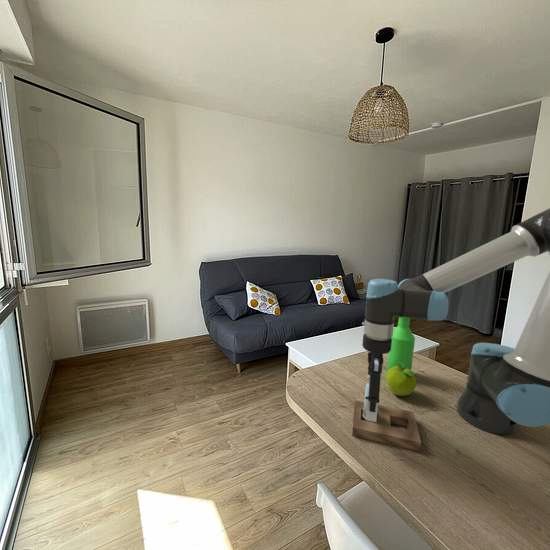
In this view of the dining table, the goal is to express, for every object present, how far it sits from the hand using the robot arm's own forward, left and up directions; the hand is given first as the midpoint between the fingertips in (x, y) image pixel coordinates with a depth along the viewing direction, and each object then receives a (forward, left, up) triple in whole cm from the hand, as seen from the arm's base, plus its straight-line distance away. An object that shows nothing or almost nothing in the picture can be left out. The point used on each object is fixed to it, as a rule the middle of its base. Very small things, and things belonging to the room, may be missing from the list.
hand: (370, 407), depth 84 cm
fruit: (-10, -20, -5) cm, 23 cm away
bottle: (-11, -34, -5) cm, 36 cm away
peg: (0, 0, -5) cm, 5 cm away
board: (-4, 0, -5) cm, 7 cm away
